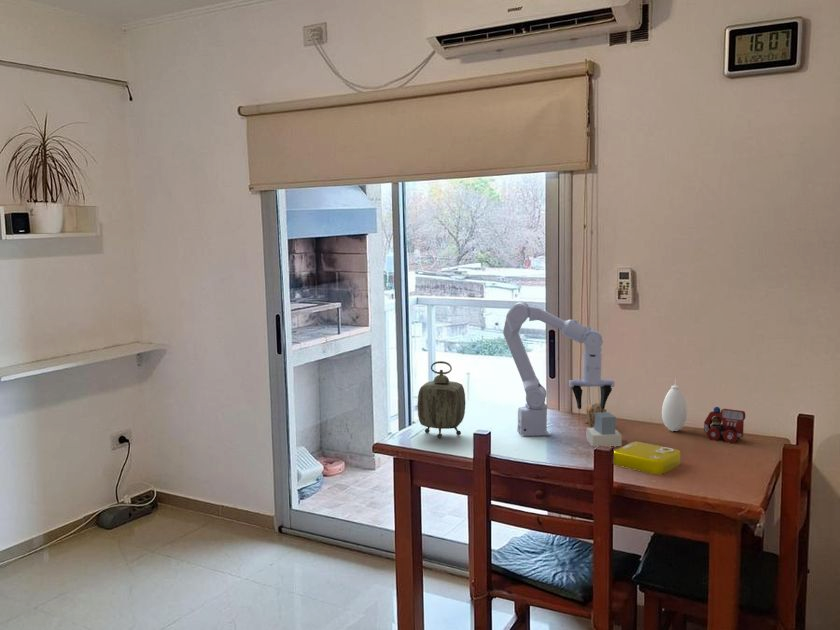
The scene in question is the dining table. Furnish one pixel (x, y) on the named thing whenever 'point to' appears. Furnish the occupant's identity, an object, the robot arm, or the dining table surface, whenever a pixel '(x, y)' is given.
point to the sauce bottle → (674, 409)
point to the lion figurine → (593, 412)
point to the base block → (603, 438)
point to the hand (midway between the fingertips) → (590, 408)
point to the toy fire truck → (725, 424)
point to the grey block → (605, 423)
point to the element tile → (647, 457)
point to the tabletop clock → (441, 403)
